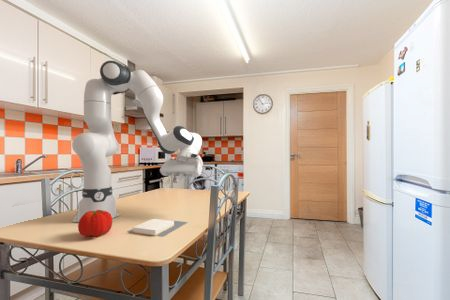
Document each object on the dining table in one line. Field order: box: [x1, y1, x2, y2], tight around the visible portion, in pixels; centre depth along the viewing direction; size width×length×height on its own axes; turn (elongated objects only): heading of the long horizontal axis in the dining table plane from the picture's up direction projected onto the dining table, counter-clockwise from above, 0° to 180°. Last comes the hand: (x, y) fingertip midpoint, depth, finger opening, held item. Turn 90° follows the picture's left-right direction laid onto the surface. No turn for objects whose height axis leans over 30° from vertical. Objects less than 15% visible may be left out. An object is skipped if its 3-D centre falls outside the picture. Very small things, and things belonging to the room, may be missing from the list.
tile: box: [132, 218, 175, 237], centre depth 89 cm, size 2×10×12 cm
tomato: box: [77, 210, 113, 238], centre depth 83 cm, size 11×11×9 cm
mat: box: [126, 218, 189, 238], centre depth 92 cm, size 18×16×1 cm
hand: (174, 182), depth 102 cm, fingers closed
